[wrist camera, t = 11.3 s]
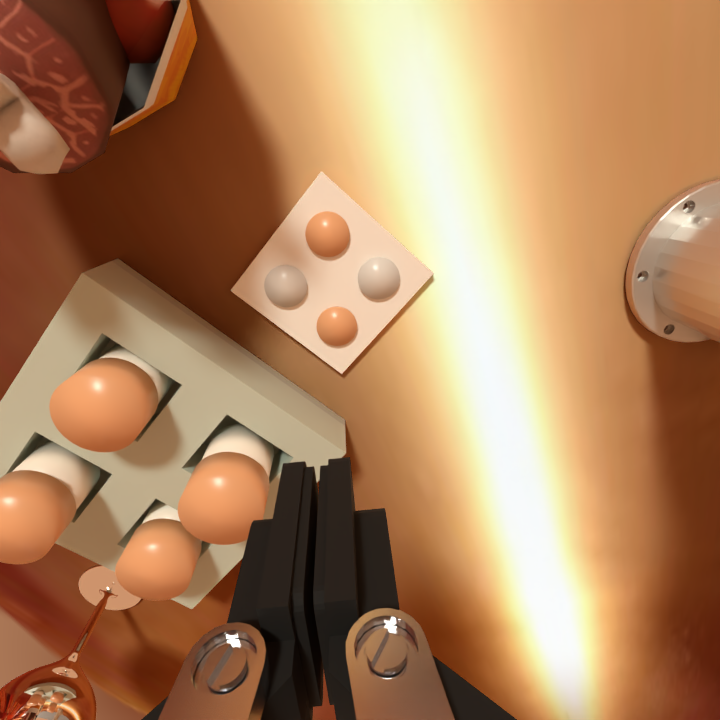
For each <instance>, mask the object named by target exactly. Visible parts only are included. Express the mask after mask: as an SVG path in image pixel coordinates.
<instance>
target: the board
mask: <svg viewBox="0 0 720 720" xmlns="http://www.w3.org/2000/svg"><path fill="white" fill-rule="evenodd" d="M117 344H120V345H121V346H123V347H124V348H126V349H127V350H129V351H130V352H132V353H133V354H135V355H136V356H138V357H140V358H141V359H143V360H144V361H146V362H147V363H149V364H150V365H152V366H153V367H155V368H156V369H158V370H160V371H161V372H163V373H164V374H166V375H167V376H169V377H170V378H172V379H173V380H174V382H173V384H172V386H171V388H170V389H169V391H168V392H167V393H166V395H165V396H164V397H163V399H162V400H161V401H160V402H159V404H158V406H157V409H156V412H155V413H154V415H153V416H152V418H151V419H150V420H149V422H148V423H147V424H146V426H145V427H144V428H143V430H142V431H141V432H140V434H139V435H138V436H137V438H136V439H135V440H134V441H133V442H132V443H131V444H130V445H129V446H127V447H125V448H123V449H121V450H118V451H114V452H95V451H90V450H86V449H84V448H81V447H79V446H77V445H75V444H73V443H72V442H70V441H69V440H68V439H66V438H65V437H64V436H63V435H62V434H61V433H60V432H59V431H58V429H57V428H56V426H55V425H54V423H53V421H52V418H51V415H50V410H49V404H50V399H51V396H52V394H53V392H54V391H55V389H56V388H57V387H58V386H59V385H60V384H62V383H63V382H64V381H66V380H67V379H68V378H69V377H71V376H72V375H73V374H75V373H76V372H77V371H78V370H80V369H81V368H82V367H84V366H85V365H86V364H88V363H89V362H91V361H93V360H96V359H99V358H100V357H101V356H103V355H104V354H105V353H106V352H108V351H109V350H110V349H111V348H113V347H114V346H115V345H117ZM234 424H243V425H244V426H246V427H247V428H249V429H250V430H252V431H253V432H255V433H256V434H258V435H259V436H261V437H263V438H264V439H266V440H267V441H269V442H270V443H272V445H273V448H274V457H273V462H272V466H271V471H270V475H269V483H270V487H269V493H268V498H267V502H266V507H265V512H264V516H263V520H264V519H273V514H274V508H275V503H276V498H277V492H278V487H279V481H280V476H281V470H282V466H283V463H291V462H302V461H305V462H306V465H307V467H312V466H314V468H315V474H316V481H317V482H318V481H319V479H320V466H323V465H328V460H329V459H335V458H342V457H343V456H344V455H345V454H346V433H345V420H344V419H343V418H341V417H340V416H339V415H337V414H336V413H334V412H333V411H332V410H330V409H329V408H327V407H326V406H325V405H323V404H322V403H320V402H319V401H318V400H316V399H315V398H313V397H312V396H311V395H309V394H308V393H306V392H305V391H304V390H302V389H301V388H299V387H298V386H297V385H295V384H294V383H292V382H291V381H290V380H288V379H287V378H285V377H284V376H282V375H281V374H280V373H278V372H277V371H275V370H274V369H273V368H271V367H270V366H268V365H267V364H266V363H264V362H263V361H261V360H260V359H259V358H257V357H256V356H254V355H253V354H252V353H250V352H249V351H247V350H246V349H245V348H243V347H242V346H240V345H239V344H238V343H236V342H235V341H233V340H232V339H230V338H229V337H228V336H226V335H225V334H223V333H222V332H221V331H219V330H218V329H216V328H215V327H214V326H212V325H211V324H209V323H208V322H207V321H205V320H204V319H202V318H201V317H200V316H198V315H197V314H195V313H194V312H193V311H191V310H190V309H188V308H187V307H186V306H184V305H183V304H181V303H180V302H179V301H177V300H176V299H174V298H173V297H171V296H170V295H169V294H167V293H166V292H164V291H163V290H162V289H160V288H159V287H157V286H156V285H155V284H153V283H152V282H150V281H149V280H148V279H146V278H145V277H143V276H142V275H141V274H139V273H138V272H136V271H135V270H134V269H132V268H131V267H129V266H128V265H127V264H125V263H124V262H122V261H121V260H119V259H115V260H113V261H110V262H108V263H105V264H103V265H100V266H98V267H95V268H93V269H90V270H88V271H85V272H83V273H82V274H81V275H80V277H79V279H78V280H77V282H76V283H75V285H74V286H73V288H72V290H71V291H70V293H69V294H68V296H67V298H66V299H65V301H64V302H63V304H62V305H61V307H60V309H59V310H58V312H57V313H56V315H55V317H54V318H53V320H52V321H51V323H50V324H49V326H48V328H47V329H46V331H45V332H44V334H43V335H42V337H41V339H40V340H39V342H38V343H37V345H36V347H35V348H34V350H33V351H32V353H31V354H30V356H29V358H28V359H27V361H26V362H25V364H24V366H23V367H22V369H21V370H20V372H19V373H18V375H17V377H16V378H15V380H14V381H13V383H12V384H11V386H10V388H9V389H8V391H7V392H6V394H5V396H4V397H3V399H2V400H1V402H0V478H1V477H2V476H4V475H6V474H8V473H10V472H12V471H13V470H14V469H15V468H16V467H17V466H18V465H20V464H21V463H22V462H23V461H24V460H25V459H26V458H27V457H28V456H29V455H30V454H31V453H33V452H34V451H35V450H36V449H37V448H38V447H39V446H40V445H42V444H44V443H46V442H49V441H53V442H55V443H57V444H58V445H60V446H62V447H64V448H66V449H67V450H69V451H71V452H73V453H75V454H76V455H78V456H80V457H82V458H84V459H85V460H87V461H89V462H91V463H93V464H94V465H96V466H98V467H100V478H99V480H98V482H97V484H96V485H95V486H94V488H93V489H92V490H91V492H90V493H89V494H88V495H87V497H86V498H85V499H84V501H83V502H82V503H81V505H80V506H79V507H78V508H77V510H76V513H75V516H74V518H73V519H72V521H71V522H70V524H69V525H68V526H67V528H66V529H65V530H64V531H63V533H62V534H61V535H60V537H59V538H58V539H57V541H56V542H55V543H56V544H58V545H60V546H63V547H65V548H67V549H69V550H71V551H73V552H75V553H77V554H79V555H81V556H83V557H85V558H87V559H89V560H91V561H93V562H96V563H98V564H100V565H102V566H104V567H106V568H108V569H110V570H112V571H114V572H115V567H116V564H117V562H118V560H119V558H120V557H121V555H122V553H123V551H124V549H125V548H126V546H127V544H128V542H129V540H130V539H131V537H132V535H133V533H134V532H135V530H136V529H137V528H138V527H139V526H140V525H141V524H142V522H143V520H144V519H145V517H146V515H147V513H148V511H149V510H150V508H151V506H152V504H153V502H154V501H155V499H158V500H159V501H161V502H163V503H165V504H167V505H168V506H170V507H172V508H174V509H176V510H178V503H179V500H180V498H181V496H182V494H183V491H184V489H185V487H186V485H187V483H188V481H189V479H190V477H191V475H192V473H193V471H194V469H195V467H196V466H197V464H198V463H199V462H200V461H201V460H202V458H203V456H204V454H205V452H206V449H207V447H208V445H209V443H210V441H211V439H212V437H213V436H214V434H215V433H216V432H217V431H219V430H220V429H222V428H224V427H226V426H229V425H234ZM246 543H247V540H245V541H242V542H240V543H236V544H230V545H217V544H212V543H208V542H205V541H202V543H201V546H202V548H201V553H200V556H199V558H198V561H197V564H196V567H195V570H194V573H193V575H192V578H191V581H190V584H189V586H188V588H187V589H186V590H185V591H184V592H183V593H182V594H180V595H179V596H177V597H175V598H172V600H174V601H176V602H178V603H180V604H182V605H184V606H186V607H188V608H190V609H193V608H194V607H195V606H196V605H197V604H198V603H199V602H200V601H201V600H202V599H203V598H204V597H205V596H206V595H207V594H208V593H209V592H210V591H211V590H212V588H213V587H214V586H215V585H216V584H217V583H218V582H219V581H220V580H221V579H222V578H223V577H224V576H225V575H226V574H227V573H228V572H229V571H230V570H231V569H232V568H233V567H234V566H235V565H236V564H237V563H238V562H239V561H240V560H241V559H242V558H243V555H244V551H245V547H246Z"/></svg>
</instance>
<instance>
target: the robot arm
mask: <svg viewBox="0 0 720 720" xmlns="http://www.w3.org/2000/svg"><path fill="white" fill-rule="evenodd" d="M625 287H626V295H627V301H628V303H629V306H630V309H631V311H632V313H633V314H634V316H635V317H636V319H637V320H638V322H639V323H640V324H642V325H643V326H644V327H645V328H646V329H647V330H649V331H651V332H653V333H655V334H656V335H658V336H660V337H663V338H665V339H668V340H671V341H677V342H684V343H687V342H701V341H705V340H710V339H712V340H715V341H717V342H719V343H720V179H718V180H714V181H710V182H706V183H703V184H701V185H698V186H696V187H694V188H691V189H689V190H687V191H686V192H684V193H682V194H681V195H679V196H678V197H676V198H674V199H673V200H672V201H671V202H669V203H668V204H667V205H666V206H665V207H664V208H662V209H661V210H660V211H659V212H658V213H657V214H656V215H655V217H654V218H653V219H652V220H651V221H650V222H649V224H648V225H647V226H646V227H645V229H644V231H643V232H642V234H641V235H640V237H639V238H638V240H637V242H636V244H635V247H634V249H633V251H632V253H631V256H630V259H629V263H628V267H627V271H626V284H625ZM323 669H324V673H325V679H326V685H327V691H328V697H329V703H330V705H334V708H335V714H336V720H517V719H515V718H514V717H513V716H511V715H510V714H509V713H507V712H506V711H505V710H503V709H502V708H501V707H500V706H498V705H497V704H496V703H494V702H493V701H492V700H490V699H489V698H488V697H486V696H485V695H484V694H483V693H481V692H480V691H479V690H477V689H476V688H475V687H473V686H472V685H471V684H469V683H468V682H467V681H466V680H464V679H463V678H462V677H460V676H459V675H458V674H456V673H455V672H454V671H452V670H451V669H450V668H449V667H447V666H446V665H445V664H443V663H442V662H441V661H439V660H438V659H437V658H435V657H434V656H433V655H432V653H431V650H430V647H429V645H428V642H427V639H426V636H425V634H424V632H423V630H422V628H421V626H420V625H419V624H418V623H417V622H416V621H415V620H414V619H413V618H412V617H411V616H410V615H408V614H406V613H404V612H402V611H401V610H399V603H398V596H397V589H396V582H395V575H394V568H393V561H392V554H391V547H390V540H389V533H388V526H387V519H386V512H385V508H383V509H372V510H361V511H355V502H354V492H353V482H352V472H351V463H350V457H346V458H335V459H329V460H328V465H323V466H320V479H319V495H318V488H317V481H316V474H315V468H314V466H312V467H307V465H306V462H305V461H302V462H291V463H283V466H282V470H281V476H280V481H279V487H278V492H277V498H276V503H275V508H274V514H273V519H264V520H254V521H253V522H252V524H251V527H250V531H249V535H248V539H247V543H246V547H245V551H244V555H243V559H242V564H241V568H240V572H239V576H238V580H237V584H236V588H235V592H234V596H233V601H232V605H231V609H230V613H229V617H228V621H227V624H224V625H222V626H219V627H216V628H214V629H213V630H211V631H210V632H208V633H207V634H205V635H204V636H203V637H202V638H201V639H200V640H199V641H198V642H197V643H196V644H195V645H194V646H193V647H192V649H191V651H190V652H189V654H188V656H187V657H186V659H185V661H184V663H183V665H182V668H181V670H180V672H179V674H178V677H177V679H176V681H175V683H174V685H173V688H172V690H171V692H170V694H169V696H168V697H167V698H166V699H165V700H163V701H162V702H161V703H160V704H159V705H158V706H157V707H155V708H154V709H153V710H152V711H151V712H150V713H149V714H147V715H146V716H145V717H144V718H143V719H142V720H312V716H313V707H315V706H322V701H323Z"/></svg>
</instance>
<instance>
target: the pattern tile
mask: <svg viewBox="0 0 720 720" xmlns="http://www.w3.org/2000/svg"><path fill="white" fill-rule="evenodd" d="M433 274H434V273H433V272H432V271H431V270H430V269H429V268H428V267H426V266H425V265H424V264H423V263H422V262H421V261H420V260H419V259H418V258H417V257H415V256H414V255H413V254H412V253H411V252H410V251H409V250H408V249H407V248H406V247H404V246H403V245H402V244H401V243H400V242H399V241H398V240H397V239H396V238H395V237H393V236H392V235H391V234H390V233H389V232H388V231H387V230H386V229H385V228H384V227H382V226H381V225H380V224H379V223H378V222H377V221H376V220H375V219H374V218H373V217H371V216H370V215H369V214H368V213H367V212H366V211H365V210H364V209H363V208H361V207H360V206H359V205H358V204H357V203H356V202H355V201H354V200H353V199H352V198H350V197H349V196H348V195H347V194H346V193H345V192H344V191H343V190H342V189H341V188H339V187H338V186H337V185H336V184H335V183H334V182H333V181H332V180H331V179H330V178H328V177H327V176H326V175H325V174H324V173H323V172H322V171H321V172H320V174H319V175H318V176H317V178H316V179H315V180H314V182H313V183H312V184H311V186H310V187H309V188H308V189H307V191H306V192H305V193H304V195H303V196H302V197H301V199H300V200H299V201H298V203H297V204H296V205H295V206H294V208H293V209H292V210H291V212H290V213H289V214H288V216H287V217H286V218H285V220H284V221H283V222H282V224H281V225H280V226H279V227H278V229H277V230H276V231H275V233H274V234H273V235H272V237H271V238H270V239H269V241H268V242H267V243H266V245H265V246H264V247H263V248H262V250H261V251H260V252H259V254H258V255H257V256H256V258H255V259H254V260H253V262H252V263H251V264H250V266H249V267H248V268H247V269H246V271H245V272H244V273H243V275H242V276H241V277H240V279H239V280H238V281H237V283H236V284H235V285H234V286H233V288H232V289H231V290H230V291H231V292H233V293H234V294H235V295H237V296H238V297H239V298H241V299H242V300H243V301H245V302H246V303H247V304H249V305H250V306H251V307H253V308H254V309H255V310H257V311H258V312H259V313H261V314H262V315H263V316H265V317H266V318H267V319H269V320H270V321H271V322H273V323H274V324H276V325H277V326H278V327H280V328H281V329H282V330H284V331H285V332H286V333H288V334H289V335H290V336H292V337H293V338H294V339H296V340H297V341H298V342H300V343H301V344H302V345H304V346H305V347H306V348H308V349H309V350H310V351H312V352H313V353H314V354H316V355H317V356H318V357H320V358H321V359H322V360H324V361H325V362H326V363H328V364H329V365H330V366H332V367H333V368H334V369H336V370H337V371H338V372H340V373H341V374H342V373H343V372H344V371H345V370H346V369H347V368H348V367H349V366H350V364H351V363H352V362H353V361H354V360H355V359H356V358H357V357H358V356H359V355H360V354H361V352H362V351H363V350H364V349H365V348H366V347H367V346H368V345H369V344H370V343H371V341H372V340H373V339H374V338H375V337H376V336H377V335H378V334H379V333H380V332H381V331H382V329H383V328H384V327H385V326H386V325H387V324H388V323H389V322H390V321H391V320H392V319H393V317H394V316H395V315H396V314H397V313H398V312H399V311H400V310H401V309H402V308H403V307H404V305H405V304H406V303H407V302H408V301H409V300H410V299H411V298H412V297H413V296H414V295H415V293H416V292H417V291H418V290H419V289H420V288H421V287H422V286H423V285H424V284H425V283H426V281H427V280H428V279H429V278H430V277H431V276H432V275H433Z"/></svg>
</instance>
